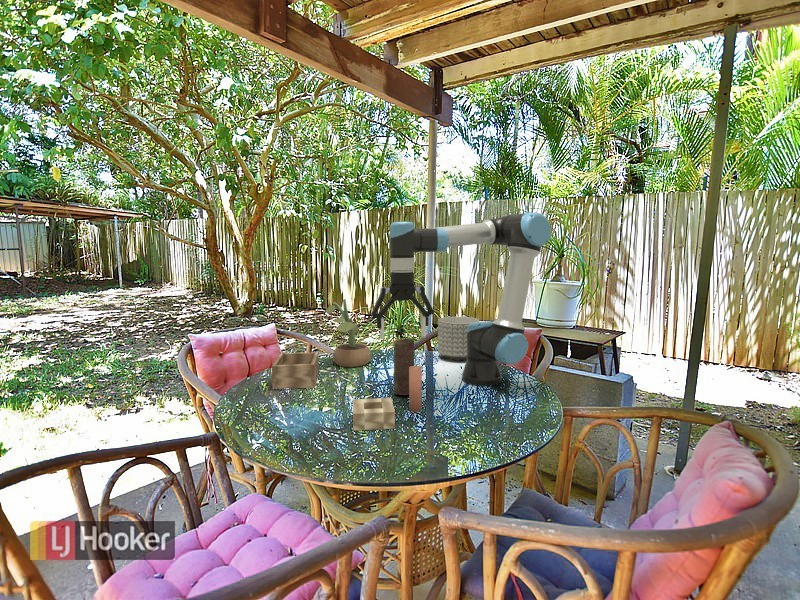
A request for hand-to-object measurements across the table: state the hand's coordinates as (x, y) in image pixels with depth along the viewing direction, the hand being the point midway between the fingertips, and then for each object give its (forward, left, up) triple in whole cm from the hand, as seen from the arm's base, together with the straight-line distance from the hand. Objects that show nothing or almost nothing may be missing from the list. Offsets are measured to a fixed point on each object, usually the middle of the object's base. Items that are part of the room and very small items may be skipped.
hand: (403, 337), depth 144 cm
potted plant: (+18, -55, -24) cm, 63 cm away
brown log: (-2, -12, -24) cm, 26 cm away
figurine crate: (+38, -33, -23) cm, 56 cm away
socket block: (+10, +11, -23) cm, 28 cm away
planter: (-33, -60, -24) cm, 72 cm away
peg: (-4, +3, -23) cm, 24 cm away
